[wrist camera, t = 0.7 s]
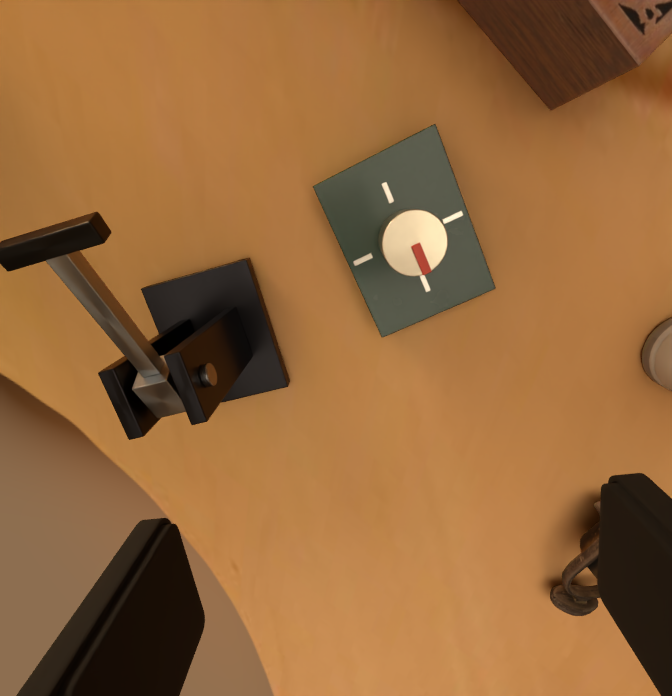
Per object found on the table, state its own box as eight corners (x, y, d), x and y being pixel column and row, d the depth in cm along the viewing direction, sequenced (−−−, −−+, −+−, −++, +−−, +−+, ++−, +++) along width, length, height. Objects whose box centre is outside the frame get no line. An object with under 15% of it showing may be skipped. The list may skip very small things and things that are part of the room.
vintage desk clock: (738, 581, 35) (680, 534, 32) (622, 679, 38) (556, 647, 34) (661, 517, 42) (606, 473, 38) (566, 604, 44) (506, 570, 40)
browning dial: (369, 224, 30) (371, 227, 26) (422, 199, 30) (434, 197, 25) (391, 276, 31) (397, 287, 27) (443, 252, 31) (458, 260, 26)
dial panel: (316, 188, 33) (312, 186, 30) (428, 131, 31) (435, 122, 28) (380, 327, 36) (382, 338, 33) (484, 282, 34) (496, 288, 31)
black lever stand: (147, 286, 36) (38, 326, 23) (249, 257, 35) (191, 283, 22) (194, 404, 39) (120, 493, 27) (290, 381, 38) (258, 463, 25)
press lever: (8, 233, 20) (-20, 259, 19) (103, 204, 20) (84, 228, 18) (146, 394, 28) (136, 423, 27) (217, 377, 28) (212, 405, 26)
